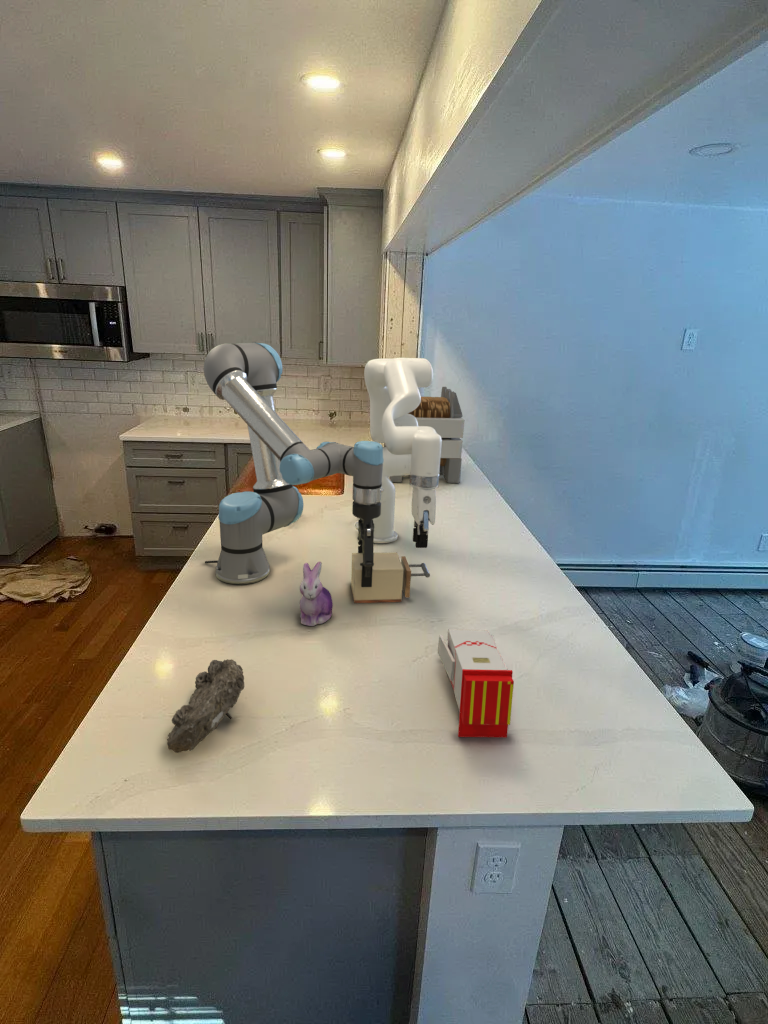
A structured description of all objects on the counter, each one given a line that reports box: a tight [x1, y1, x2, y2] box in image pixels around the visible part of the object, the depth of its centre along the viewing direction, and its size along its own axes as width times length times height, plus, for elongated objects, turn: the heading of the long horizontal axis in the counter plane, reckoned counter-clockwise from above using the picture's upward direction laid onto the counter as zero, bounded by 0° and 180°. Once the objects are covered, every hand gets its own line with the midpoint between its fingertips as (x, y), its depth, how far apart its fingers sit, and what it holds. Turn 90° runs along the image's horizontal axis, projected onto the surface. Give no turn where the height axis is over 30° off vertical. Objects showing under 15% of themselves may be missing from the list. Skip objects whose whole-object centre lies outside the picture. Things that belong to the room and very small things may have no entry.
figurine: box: [299, 561, 334, 627], centre depth 141 cm, size 9×10×15 cm
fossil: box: [166, 658, 245, 754], centre depth 106 cm, size 22×10×15 cm
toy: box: [437, 628, 515, 738], centre depth 117 cm, size 12×13×30 cm
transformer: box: [383, 386, 465, 484], centre depth 268 cm, size 34×33×41 cm
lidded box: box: [350, 551, 403, 604], centre depth 156 cm, size 13×11×10 cm
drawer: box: [400, 555, 431, 599], centre depth 157 cm, size 17×10×8 cm, turn 97°
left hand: (364, 576), depth 156 cm, fingers closed on lidded box, 11 cm apart
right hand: (419, 543), depth 154 cm, fingers open, 3 cm apart
